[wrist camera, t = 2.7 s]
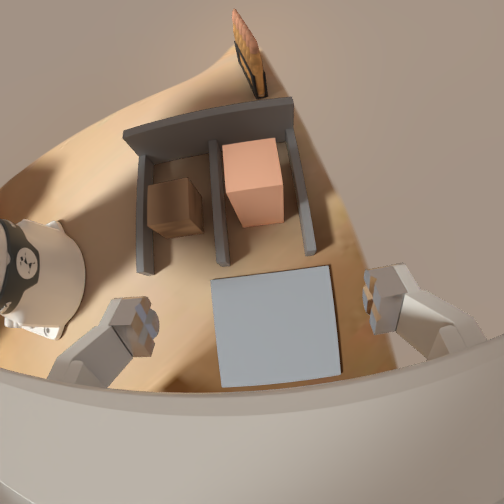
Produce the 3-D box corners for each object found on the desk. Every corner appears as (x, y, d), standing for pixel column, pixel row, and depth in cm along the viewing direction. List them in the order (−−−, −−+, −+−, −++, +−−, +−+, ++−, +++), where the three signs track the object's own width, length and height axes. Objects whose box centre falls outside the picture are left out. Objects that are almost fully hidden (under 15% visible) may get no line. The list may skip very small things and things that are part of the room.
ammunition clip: (268, 96, 40) (261, 37, 28) (256, 99, 40) (247, 41, 28) (248, 58, 42) (238, 4, 30) (238, 60, 42) (226, 7, 31)
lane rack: (147, 275, 36) (114, 265, 28) (148, 159, 40) (123, 130, 32) (313, 255, 34) (322, 238, 26) (291, 133, 38) (291, 96, 30)
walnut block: (167, 238, 37) (147, 226, 31) (166, 203, 38) (147, 185, 32) (203, 233, 36) (189, 218, 31) (201, 196, 37) (187, 177, 32)
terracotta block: (243, 227, 36) (226, 192, 25) (239, 190, 37) (222, 145, 26) (283, 222, 35) (283, 184, 25) (278, 185, 37) (274, 137, 26)
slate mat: (222, 386, 32) (222, 387, 32) (211, 280, 35) (210, 280, 35) (340, 373, 31) (340, 374, 31) (327, 266, 34) (328, 265, 33)
